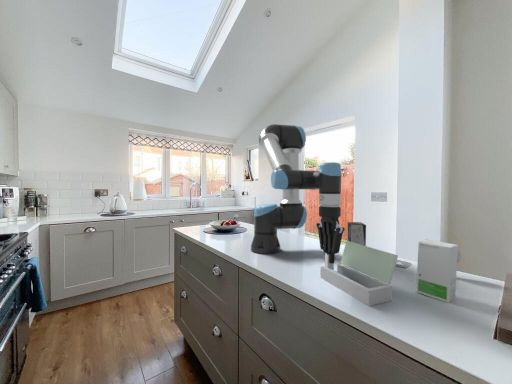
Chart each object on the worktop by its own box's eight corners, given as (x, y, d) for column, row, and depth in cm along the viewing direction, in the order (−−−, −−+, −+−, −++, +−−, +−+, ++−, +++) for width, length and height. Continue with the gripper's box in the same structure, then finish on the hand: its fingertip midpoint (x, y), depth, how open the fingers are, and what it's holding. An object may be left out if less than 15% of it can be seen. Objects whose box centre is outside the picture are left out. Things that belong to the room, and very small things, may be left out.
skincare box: (415, 292, 71) (416, 241, 70) (423, 287, 75) (424, 238, 74) (450, 303, 64) (451, 246, 64) (457, 297, 68) (458, 243, 68)
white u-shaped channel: (320, 277, 82) (320, 266, 82) (339, 274, 85) (339, 263, 85) (368, 305, 62) (368, 290, 62) (391, 300, 65) (391, 286, 65)
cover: (346, 240, 86) (348, 241, 86) (340, 263, 85) (341, 263, 86) (396, 254, 67) (398, 255, 68) (388, 284, 67) (390, 284, 67)
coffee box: (366, 262, 99) (366, 224, 99) (350, 261, 101) (350, 224, 100) (361, 256, 108) (361, 221, 108) (346, 255, 109) (346, 221, 109)
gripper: (310, 204, 89) (310, 266, 89) (333, 207, 77) (332, 279, 77) (326, 204, 91) (326, 264, 92) (351, 206, 79) (350, 276, 79)
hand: (329, 271), depth 84 cm, fingers closed
